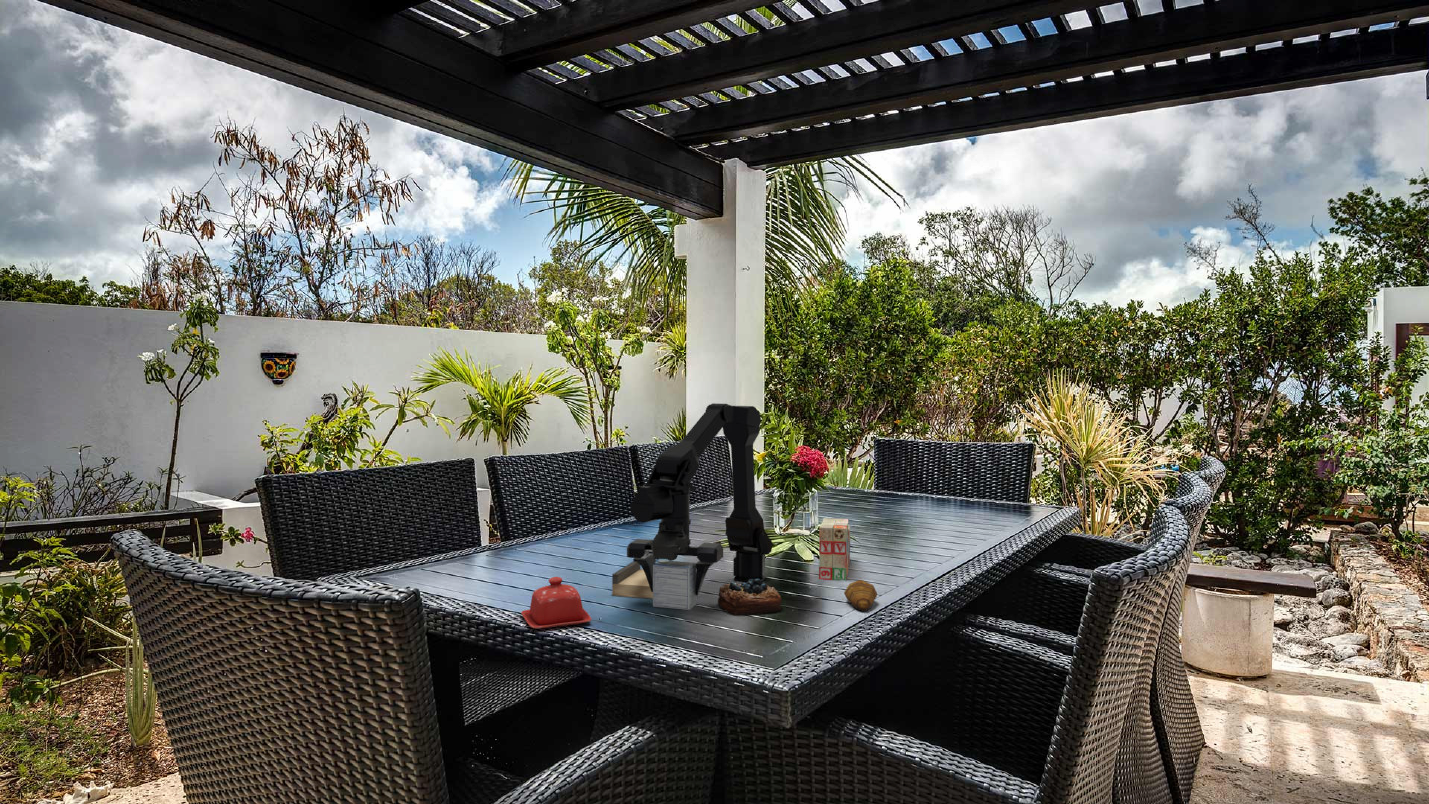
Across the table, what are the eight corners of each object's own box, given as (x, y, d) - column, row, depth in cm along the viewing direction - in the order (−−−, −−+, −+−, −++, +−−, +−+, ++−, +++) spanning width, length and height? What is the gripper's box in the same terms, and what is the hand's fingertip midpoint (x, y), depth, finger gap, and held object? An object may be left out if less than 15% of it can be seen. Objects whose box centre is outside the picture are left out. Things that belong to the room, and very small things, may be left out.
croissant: (881, 614, 157) (882, 588, 157) (846, 613, 158) (847, 587, 157) (873, 595, 171) (873, 572, 170) (840, 594, 171) (841, 571, 171)
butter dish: (530, 634, 144) (530, 587, 143) (519, 617, 154) (519, 573, 154) (593, 627, 148) (593, 581, 148) (578, 610, 159) (578, 567, 159)
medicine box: (697, 605, 162) (697, 562, 162) (689, 611, 158) (689, 567, 158) (661, 601, 165) (661, 559, 165) (652, 607, 161) (652, 564, 160)
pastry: (711, 604, 164) (711, 575, 164) (765, 598, 168) (765, 570, 168) (731, 619, 154) (732, 588, 154) (788, 612, 158) (788, 583, 158)
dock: (694, 583, 179) (694, 563, 179) (675, 600, 166) (676, 578, 165) (635, 579, 183) (635, 560, 183) (612, 595, 169) (612, 574, 169)
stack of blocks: (825, 559, 205) (825, 511, 204) (850, 561, 203) (850, 512, 203) (818, 580, 184) (819, 526, 183) (846, 581, 182) (846, 527, 182)
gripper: (616, 520, 156) (616, 600, 156) (709, 525, 151) (709, 607, 151) (636, 511, 166) (636, 586, 167) (724, 515, 162) (723, 592, 162)
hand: (674, 593), depth 161 cm, fingers open, 9 cm apart
